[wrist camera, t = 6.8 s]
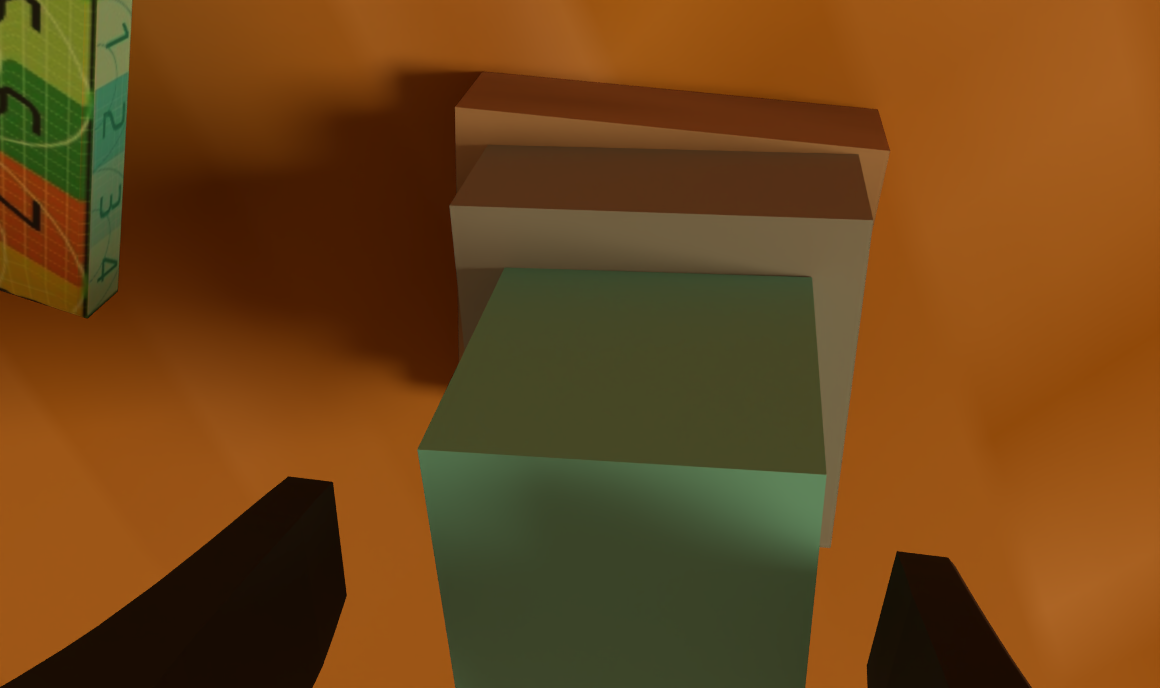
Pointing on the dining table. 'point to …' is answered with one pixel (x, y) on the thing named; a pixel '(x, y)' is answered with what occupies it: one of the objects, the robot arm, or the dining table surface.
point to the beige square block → (679, 235)
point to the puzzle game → (62, 149)
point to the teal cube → (630, 482)
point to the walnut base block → (656, 124)
